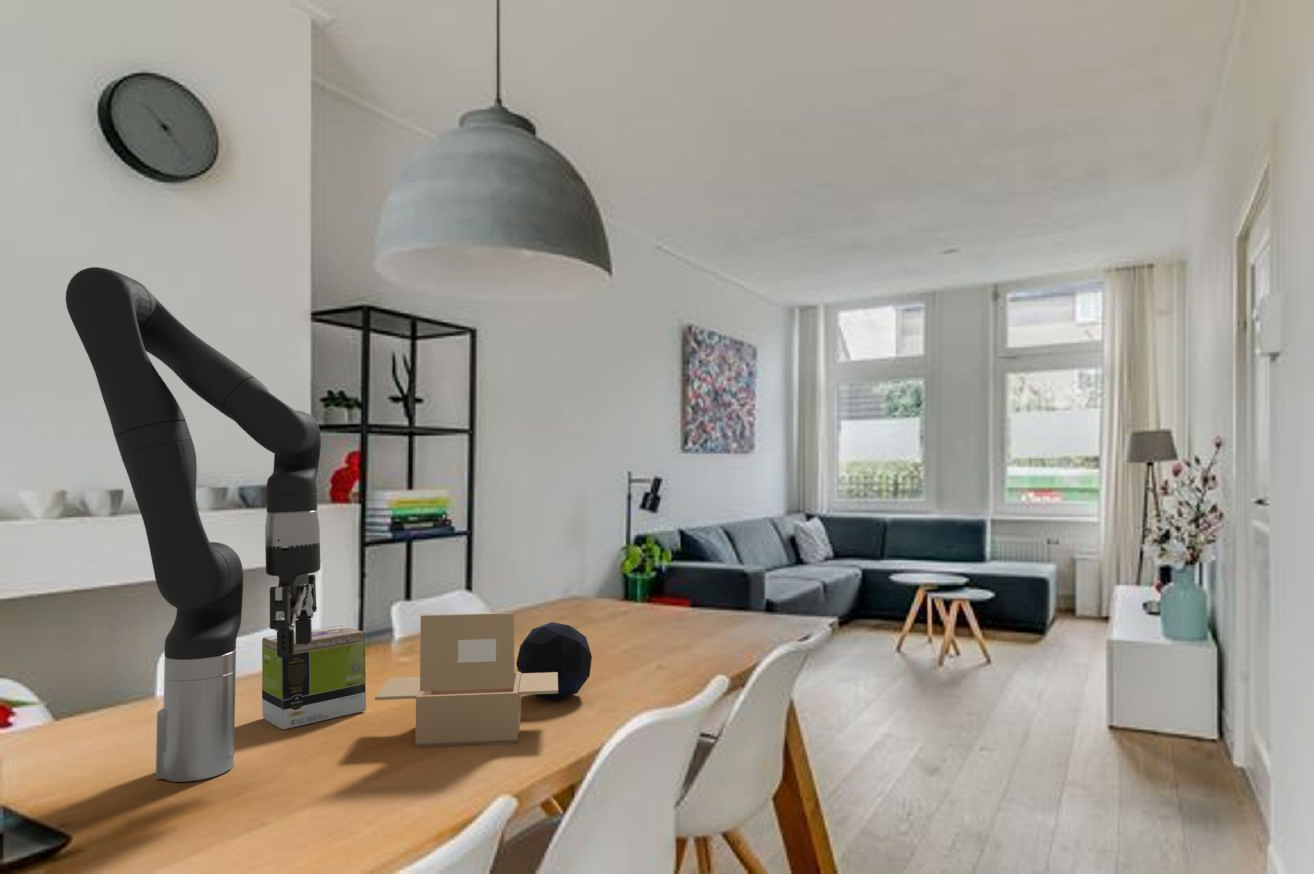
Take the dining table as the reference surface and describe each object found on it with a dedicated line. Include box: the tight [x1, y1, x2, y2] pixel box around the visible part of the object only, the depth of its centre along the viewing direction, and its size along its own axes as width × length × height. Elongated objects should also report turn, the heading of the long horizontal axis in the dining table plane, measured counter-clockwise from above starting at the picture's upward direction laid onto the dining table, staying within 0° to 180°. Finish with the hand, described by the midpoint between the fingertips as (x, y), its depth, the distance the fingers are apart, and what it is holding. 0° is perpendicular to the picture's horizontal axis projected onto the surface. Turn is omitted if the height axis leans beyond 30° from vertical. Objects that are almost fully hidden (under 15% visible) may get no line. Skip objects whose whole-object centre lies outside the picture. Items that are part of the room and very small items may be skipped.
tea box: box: [261, 625, 367, 730], centre depth 147 cm, size 15×10×15 cm
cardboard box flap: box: [419, 612, 516, 691], centre depth 131 cm, size 15×1×12 cm, turn 97°
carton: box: [374, 671, 558, 749], centre depth 138 cm, size 29×15×8 cm, turn 97°
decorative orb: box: [515, 621, 593, 702], centre depth 158 cm, size 14×15×15 cm
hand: (295, 649), depth 122 cm, fingers open, 8 cm apart
